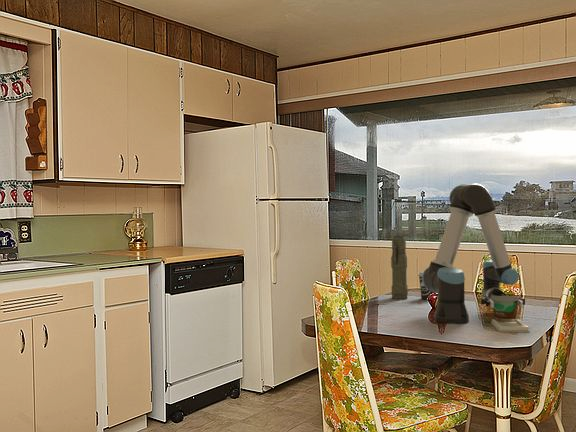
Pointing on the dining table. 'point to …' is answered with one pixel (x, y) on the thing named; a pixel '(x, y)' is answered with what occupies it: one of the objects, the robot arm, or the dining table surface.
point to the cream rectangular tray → (510, 326)
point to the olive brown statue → (399, 268)
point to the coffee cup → (423, 288)
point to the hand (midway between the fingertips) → (507, 304)
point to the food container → (505, 306)
